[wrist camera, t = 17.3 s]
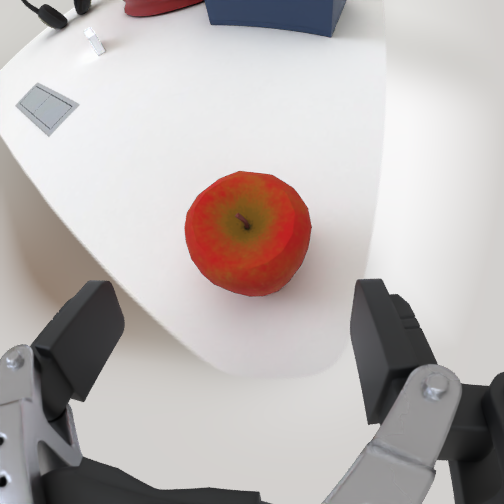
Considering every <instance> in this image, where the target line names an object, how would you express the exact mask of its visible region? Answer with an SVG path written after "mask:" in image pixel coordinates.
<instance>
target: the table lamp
mask: <svg viewBox="0 0 504 504" xmlns="http://www.w3.org/2000/svg"><path fill="white" fill-rule="evenodd" d="M123 1H125V2H126V5H125V13H126V14H128V15H131V16H151V15H156V14H161V13H165V12H169V11H173V10H176V9H180V8H183V7H186V6H189V5H193V4H196V3H198V2H201V1H203V0H123Z"/></svg>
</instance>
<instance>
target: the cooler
mask: <svg viewBox="0 0 504 504" xmlns="http://www.w3.org/2000/svg"><path fill="white" fill-rule="evenodd" d="M204 1H205V5H206V8H207V12H208V16H209V20H210V23H211V25H239V26H254V27H266V28H276V29H284V30H292V31H298V32H305V33H311V34H317V35H322V36H327V37H331V36H332V34H333V32H334V29H335V27H336V24H337V22H338V20H339V17H340V15H341V13H342V10H343V8H344V5H345V3H346V0H204Z"/></svg>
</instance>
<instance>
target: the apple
mask: <svg viewBox="0 0 504 504" xmlns="http://www.w3.org/2000/svg"><path fill="white" fill-rule="evenodd" d="M311 228H312V226H311V221H310V216H309V211H308V208H307V206H306V205H305V203H304V202H303V200H302V199H301V197H300V196H299V194H298V193H297V192H296V191H295V189H294V188H293V187H291V186H289V185H288V184H286V183H285V182H283V181H281V180H280V179H278V178H277V177H275V176H273V175H270V174H262V173H253V172H244V171H238V172H235V173H233V174H230V175H228V176H225V177H223V178H220V179H218V180H217V181H216V182H214V183H213V184H212V185H211V186H209V187H208V188H207V189H205V190H204V191H203V192H202V193H200V194H199V195H198V196H197V198H196V199H195V201H194V202H193V204H192V206H191V207H190V209H189V210H188V212H187V216H186V222H185V238H186V244H187V247H188V250H189V253H190V256H191V259H192V261H193V262H194V263H195V265H196V266H197V267H198V269H199V270H200V272H201V273H202V274H203V275H204V276H205V277H206V278H207V279H209V280H210V281H211V282H212V283H213V284H215V285H217V286H219V287H222V288H224V289H227V290H229V291H231V292H234V293H238V294H242V295H246V296H265V295H268V294H271V293H274V292H277V291H278V290H280V289H281V288H282V287H283V286H285V285H286V284H287V283H288V282H289V281H290V279H291V278H292V277H293V275H294V274H295V273H296V271H297V270H298V269H299V267H300V266H301V264H302V262H303V260H304V257H305V255H306V252H307V250H308V246H309V240H310V234H311Z"/></svg>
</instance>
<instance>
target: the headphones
mask: <svg viewBox="0 0 504 504" xmlns="http://www.w3.org/2000/svg"><path fill="white" fill-rule="evenodd" d="M22 1H23V3H24V4H25V5H26V6H27V7H28V8H29V9H31V10H32V11H34V12H35V13H36V14H38V17H39V19H41V21H42V22H43V23H45V24H46V25H48V26H49V27H51V28H54V29H58V28H62V27H64V26H65V25H66V23H67V19H66V18H65V17H64V16H63V15H62V14H61V13H59V12H58V11H57V10H55V9H54V8H52V7H51V6H49V5H47V4H44V5H43V6H41V7H40V9H38V8H36V7H34V6H33V5H31V4H30V3H28V2H27V1H26V0H22ZM74 5H75V9H76V12H77V13H78V14H83V13H85V12H86V11H87V10H88V9H89V7H90V6H91V0H74Z"/></svg>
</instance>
